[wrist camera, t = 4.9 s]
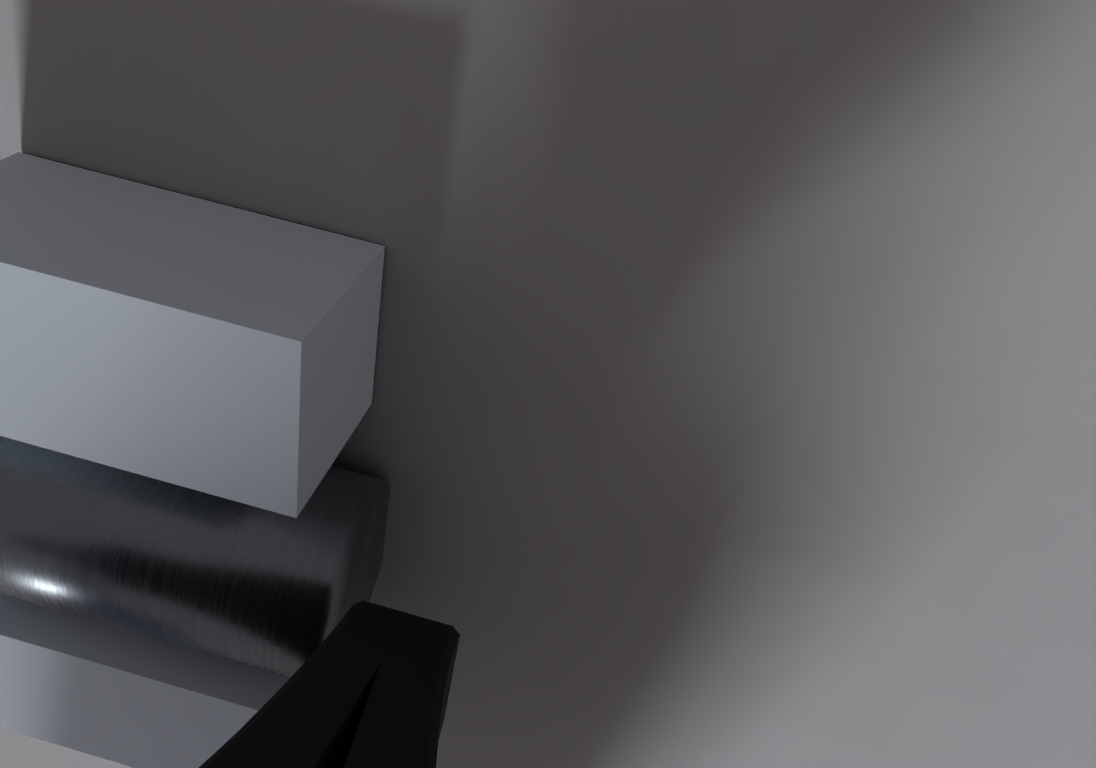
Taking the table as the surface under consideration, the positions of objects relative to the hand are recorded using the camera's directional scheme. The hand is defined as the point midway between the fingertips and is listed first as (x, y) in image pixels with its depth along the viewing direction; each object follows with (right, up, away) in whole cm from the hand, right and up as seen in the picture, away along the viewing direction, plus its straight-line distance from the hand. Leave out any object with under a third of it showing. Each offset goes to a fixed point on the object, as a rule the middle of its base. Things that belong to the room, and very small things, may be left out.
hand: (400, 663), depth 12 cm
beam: (-3, +2, +2) cm, 5 cm away
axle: (-5, +3, +3) cm, 7 cm away
